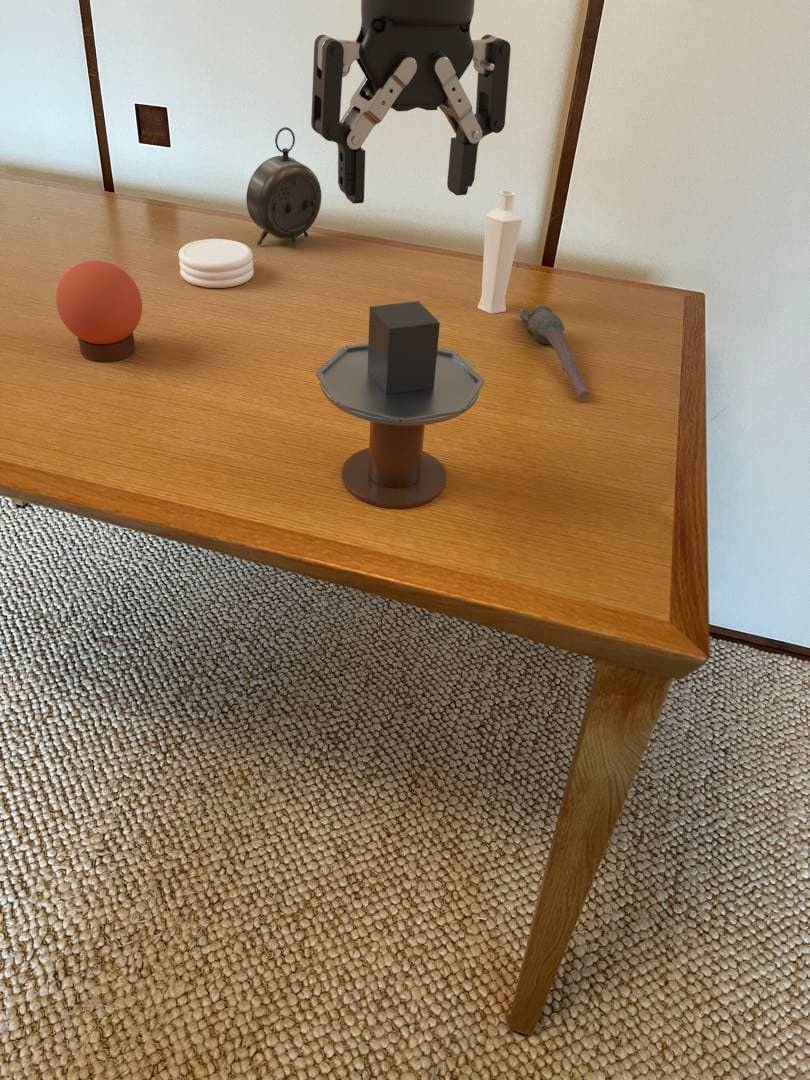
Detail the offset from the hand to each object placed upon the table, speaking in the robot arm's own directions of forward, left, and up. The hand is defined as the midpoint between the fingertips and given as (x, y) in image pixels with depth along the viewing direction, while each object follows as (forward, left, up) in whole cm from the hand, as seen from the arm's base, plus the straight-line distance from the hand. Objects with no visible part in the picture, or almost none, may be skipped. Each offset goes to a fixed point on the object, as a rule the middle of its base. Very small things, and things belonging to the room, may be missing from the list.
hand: (406, 196), depth 62 cm
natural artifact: (+28, +18, -26) cm, 42 cm away
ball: (-22, +34, -26) cm, 48 cm away
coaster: (-5, +53, -26) cm, 59 cm away
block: (0, 0, -15) cm, 15 cm away
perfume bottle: (+28, +33, -26) cm, 50 cm away
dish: (0, 0, -26) cm, 26 cm away
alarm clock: (+8, +63, -26) cm, 68 cm away
